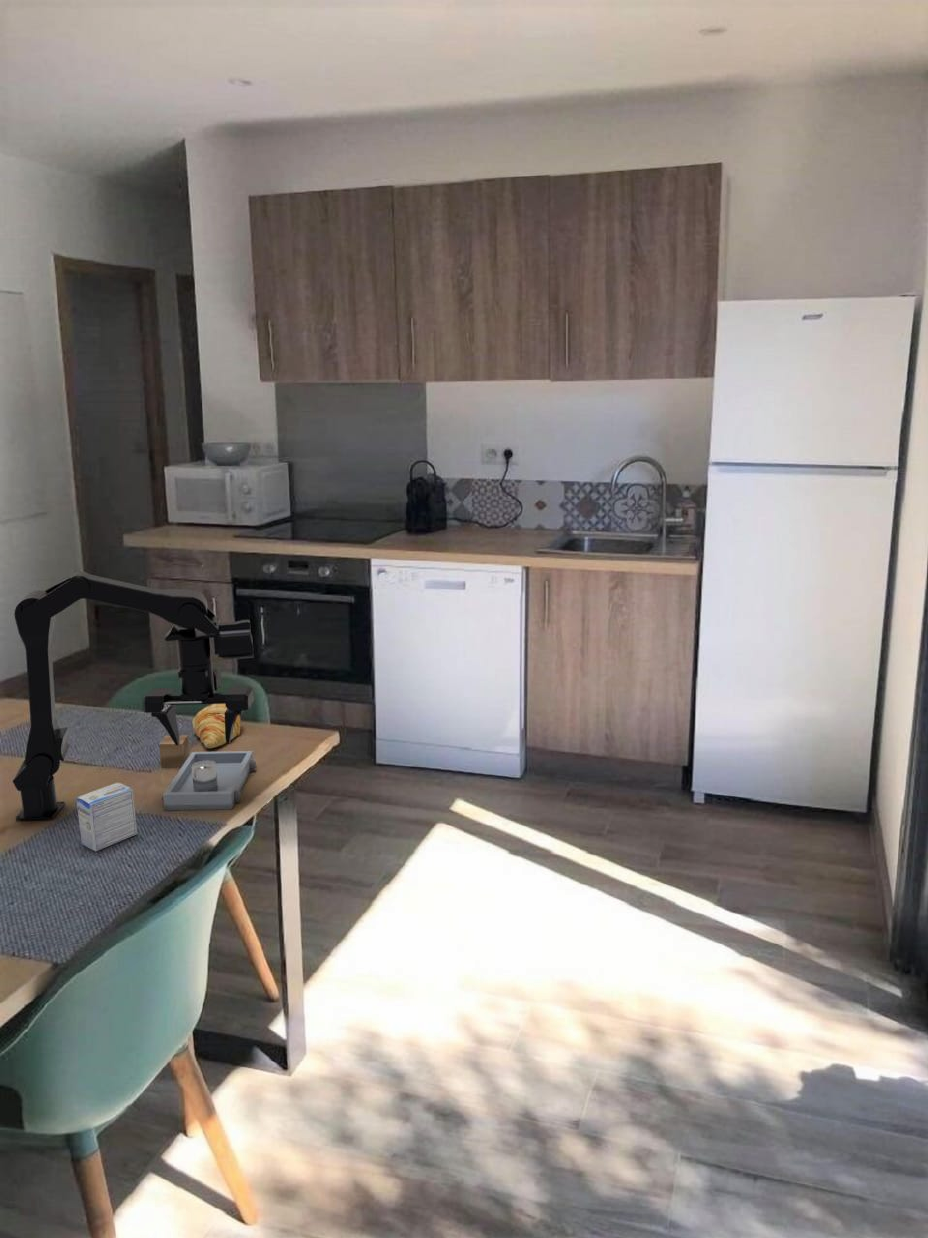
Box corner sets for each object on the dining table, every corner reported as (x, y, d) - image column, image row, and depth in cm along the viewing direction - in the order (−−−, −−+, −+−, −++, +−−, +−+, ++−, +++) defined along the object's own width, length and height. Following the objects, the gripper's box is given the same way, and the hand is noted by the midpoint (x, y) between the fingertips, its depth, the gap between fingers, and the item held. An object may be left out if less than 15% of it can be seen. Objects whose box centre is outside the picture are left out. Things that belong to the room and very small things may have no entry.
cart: (237, 809, 177) (236, 793, 176) (158, 810, 177) (157, 795, 176) (258, 765, 197) (257, 750, 196) (188, 766, 197) (186, 752, 196)
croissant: (225, 767, 205) (241, 735, 203) (179, 748, 203) (195, 715, 201) (238, 729, 225) (252, 699, 223) (196, 711, 223) (211, 681, 221)
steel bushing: (215, 795, 181) (213, 769, 179) (191, 795, 181) (188, 770, 179) (220, 785, 185) (218, 760, 184) (197, 785, 185) (194, 760, 184)
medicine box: (123, 828, 171) (118, 781, 169) (138, 835, 168) (133, 787, 166) (81, 845, 165) (75, 796, 163) (95, 853, 162) (89, 804, 160)
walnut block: (184, 767, 196) (181, 743, 195) (161, 767, 196) (158, 744, 195) (190, 758, 201) (187, 735, 199) (167, 759, 201) (165, 735, 199)
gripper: (256, 648, 184) (262, 727, 188) (156, 650, 184) (164, 729, 188) (244, 665, 174) (251, 749, 178) (137, 668, 174) (146, 751, 178)
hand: (203, 744), depth 181 cm, fingers open, 9 cm apart
